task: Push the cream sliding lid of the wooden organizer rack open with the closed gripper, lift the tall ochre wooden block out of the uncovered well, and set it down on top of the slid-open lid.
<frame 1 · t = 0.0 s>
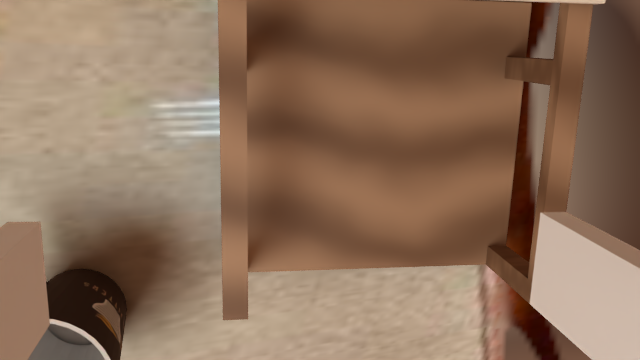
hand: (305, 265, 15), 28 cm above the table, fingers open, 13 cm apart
coffee mug: (80, 288, 43), on the table
wooden organizer rack: (371, 63, 42), on the table
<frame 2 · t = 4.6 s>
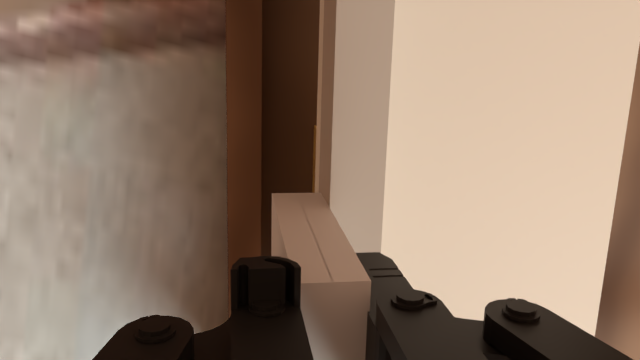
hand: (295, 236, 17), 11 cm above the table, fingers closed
lid: (478, 236, 18), point 11 cm above the table, slide at 1.8 cm, touching gripper
wooden organizer rack: (518, 161, 30), on the table
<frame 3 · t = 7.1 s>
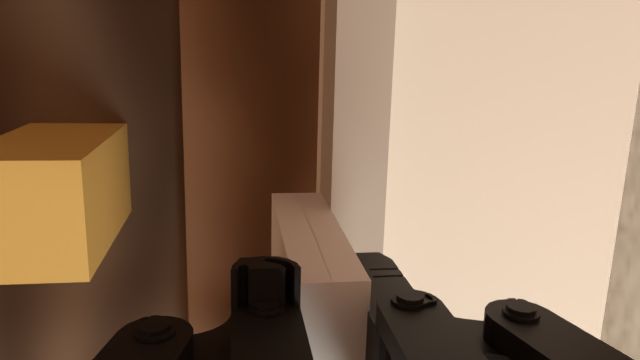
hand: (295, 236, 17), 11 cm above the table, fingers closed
block: (82, 168, 26), point 1 cm above the table, touching wooden organizer rack
lid: (481, 236, 18), point 11 cm above the table, slide at 14.2 cm, touching gripper
wooden organizer rack: (283, 161, 28), on the table
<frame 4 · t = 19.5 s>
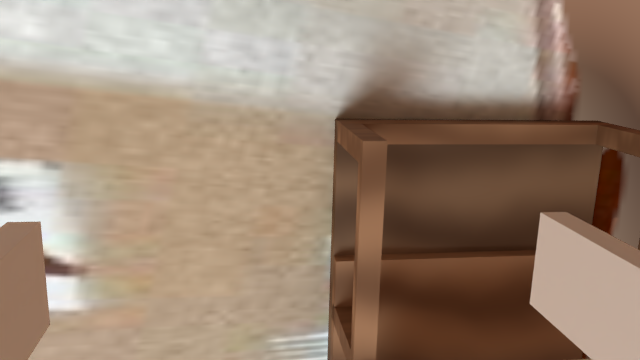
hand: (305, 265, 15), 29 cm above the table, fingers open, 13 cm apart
wooden organizer rack: (455, 297, 49), on the table
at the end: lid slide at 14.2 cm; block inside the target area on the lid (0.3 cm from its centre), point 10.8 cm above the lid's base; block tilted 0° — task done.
